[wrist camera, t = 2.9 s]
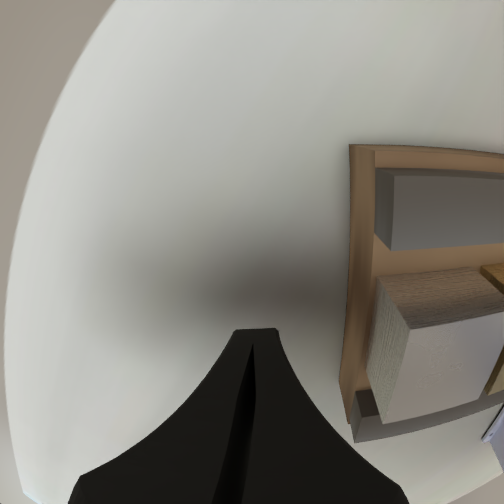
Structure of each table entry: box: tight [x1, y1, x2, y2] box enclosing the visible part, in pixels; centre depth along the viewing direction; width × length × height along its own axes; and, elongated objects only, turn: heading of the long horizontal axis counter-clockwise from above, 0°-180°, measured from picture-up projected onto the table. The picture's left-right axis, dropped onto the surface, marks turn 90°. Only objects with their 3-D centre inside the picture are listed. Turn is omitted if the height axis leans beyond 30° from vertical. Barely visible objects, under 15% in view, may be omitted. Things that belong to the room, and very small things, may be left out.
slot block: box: [339, 144, 504, 443], centre depth 11 cm, size 12×10×4 cm
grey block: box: [364, 266, 504, 424], centre depth 9 cm, size 4×4×3 cm
